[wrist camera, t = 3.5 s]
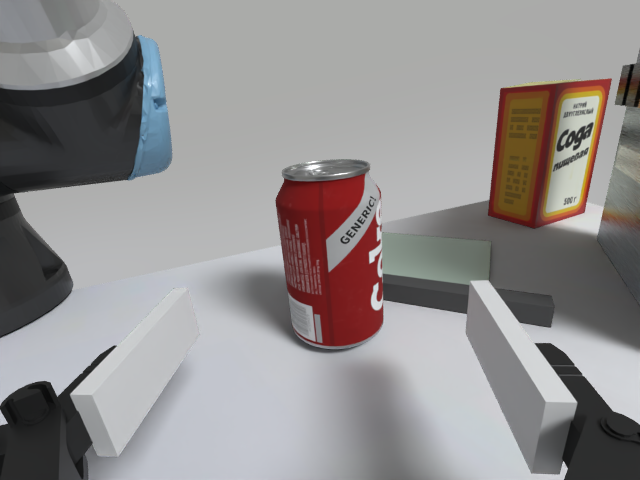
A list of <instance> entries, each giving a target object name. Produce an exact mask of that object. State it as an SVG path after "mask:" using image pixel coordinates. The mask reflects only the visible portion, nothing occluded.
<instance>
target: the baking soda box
mask: <svg viewBox="0 0 640 480" xmlns="http://www.w3.org/2000/svg"><path fill="white" fill-rule="evenodd" d="M611 80H612V79H599V80H586V81H575V80H562V81H545V82H531V83H526V84H521V85H516V86H510V87H505V88H501V90H500V99H499V100H500V101H499V109H498V120H497V129H496V140H495V150H494V161H493V171H492V180H491V190H490V200H489V210H488V216H492V217H496V218H499V219H503V220H506V221H510V222H513V223H517V224H520V225H524V226H527V227H531V228H534V229H535V228H538V227H541V226H544V225H547V224H550V223H553V222H557V221H560V220H563V219H566V218H569V217H572V216H575V215H579V214H582V213H584V212H585V207H586V202H587V197H588V192H589V188H590V183H591V178H592V172H593V168H594V163H595V158H596V154H597V148H598V144H599V139H600V134H601V129H602V124H603V119H604V115H605V110H606V105H607V100H608V95H609V90H610V85H611ZM569 81H572V82H569Z"/></svg>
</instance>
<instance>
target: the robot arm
mask: <svg viewBox="0 0 640 480" xmlns="http://www.w3.org/2000/svg"><path fill="white" fill-rule="evenodd" d="M171 161H172V144H171V135H170V126H169V118H168V110H167V106H166V97H165V86H164V79H163V72H162V65H161V59H160V54H159V49H158V45H157V43H156V42H155V41H154V40H153V39H150V38H145V37H143V36H142V35H140V36H136V37H135V35H134V31H133V28H132V25H131V22H130V20H129V18H128V17H127V15H126V13H125V12H124V10H123V9H122V8H121V7H120V6H118V5H117V4H116V3H115V2H113V1H112V0H0V336H2V335H4V334H7V333H9V332H11V331H13V330H15V329H17V328H19V327H22V326H23V325H25V324H27V323H29V322H31V321H33V320H35V319H36V318H38V317H40V316H42V315H43V314H45V313H46V312H48V311H49V310H51V309H52V308H54V307H55V306H56V305H58V304H59V303H60V302H61V301H63V300H64V299H65V298H66V297H67V296H68V294H69V293H70V292H71V290H72V287H73V281H72V279H71V276H70V274H69V271H68V269H67V266H66V265H65V263H64V262H63V261H62V259H60V257H59V256H58V255H57V254H56V253H55V252H54V251H53V250H52V249H51V248H50V246H49V245H48V244H47V243H46V242H45V241H44V240H43V239H42V238H41V237H40V236H39V234H38V233H37V232H36V231H35V230H34V229H33V228H32V227H31V226H30V225H29V223H28V222H27V221H26V220H25V218H24V217H23V215H22V213H21V210H20V208H19V205H18V203H17V201H16V198H15V196H14V193H19V192H28V191H37V190H45V189H53V188H61V187H70V186H79V185H88V184H96V183H104V182H112V181H121V180H133V179H134V178H135V177H140V176H146V175H151V174H156V173H160V172H162V171H164V170H165V169H167V168H168V167H169V165H170V164H171ZM466 335H467V337H468V339H469V341H470V343H471V345H472V348H473V350H474V352H475V354H476V356H477V358H478V360H479V362H480V365H481V367H482V369H483V371H484V373H485V375H486V377H487V380H488V382H489V384H490V386H491V388H492V390H493V392H494V395H495V397H496V399H497V401H498V403H499V405H500V407H501V410H502V412H503V414H504V416H505V418H506V420H507V422H508V424H509V427H510V429H511V431H512V433H513V435H514V437H515V439H516V442H517V444H518V446H519V448H520V450H521V452H522V454H523V457H524V459H525V461H526V463H527V465H528V467H529V469H530V471H531V473H536V474H560V471H561V467H562V463H563V461H564V462H565V464H566V466H567V468H568V470H567V473H566V476H565V479H564V480H640V425H639V424H638V423H637V422H635V421H634V420H632V419H630V418H628V417H626V416H624V415H622V414H619V413H616V412H613V411H612V410H611V408H610V407H609V406H608V405H607V404H606V402H605V401H604V400H603V399H602V397H601V396H600V395H599V394H598V393H597V391H596V390H595V389H594V388H593V387H592V385H591V384H590V383H589V382H588V380H587V379H586V378H585V377H584V376H582V373H581V372H580V371H579V370H578V368H577V367H575V366H574V363H573V362H572V361H571V360H570V359H569V357H568V356H567V355H566V354H565V353H564V352H563V351H561V350H560V349H558V348H557V347H555V346H554V345H552V344H551V343H534V342H533V341H532V340H531V338H530V337H529V335H528V334H527V333H526V331H525V330H524V329H523V327H522V326H521V324H520V323H519V322H518V320H517V319H516V318H515V316H514V315H513V313H512V312H511V311H510V309H509V308H508V307H507V305H506V304H505V303H504V301H503V300H502V298H501V297H500V296H499V294H498V293H497V292H496V290H495V289H494V287H493V286H492V285H491V283H490V282H489V281H488V280H481V281H470V286H469V298H468V310H467V322H466ZM199 336H200V332H199V328H198V324H197V320H196V316H195V312H194V308H193V304H192V300H191V296H190V292H189V288H173V289H172V290H171V291H170V292H169V293H168V294H167V296H166V297H165V298H164V299H163V300H162V301H161V302H160V303H159V304H158V305H157V306H156V307H155V308H154V309H153V310H152V311H151V312H150V313H149V314H148V315H147V316H146V317H145V318H144V319H143V320H142V321H141V322H140V323H139V324H138V325H137V326H136V327H135V328H134V329H133V330H132V331H131V332H130V333H129V334H128V335H127V336H126V337H125V338H124V339H123V341H122V342H121V343H120V344H119V345H118V346H113V347H111V348H109V349H108V350H106V351H105V352H103V353H102V354H100V355H99V356H98V357H97V358H96V359H95V360H94V361H93V362H92V363H91V366H88V367H87V368H86V369H85V370H84V371H83V374H80V375H79V376H78V377H77V378H76V379H75V380H74V381H73V382H72V383H71V384H70V385H69V386H68V387H67V388H66V389H65V390H64V391H63V392H62V393H61V394H60V395H59V396H58V397H57V395H56V393H55V391H54V389H53V387H52V385H51V383H50V382H47V381H40V382H35V383H32V384H28V385H26V386H24V387H22V388H20V389H18V390H17V391H15V392H14V393H12V394H11V395H9V396H8V397H7V398H6V399H5V400H4V401H3V402H2V404H1V406H0V410H1V412H2V414H3V415H4V417H5V419H6V421H7V422H8V424H5V425H1V426H0V480H88V463H87V459H86V457H85V455H84V454H85V452H86V451H87V450H88V448H89V447H90V446H91V444H92V445H93V447H94V449H95V451H96V454H97V456H105V457H119V455H120V454H121V452H122V451H123V449H124V448H125V446H126V445H127V443H128V442H129V440H130V439H131V437H132V436H133V434H134V433H135V431H136V430H137V428H138V427H139V425H140V424H141V422H142V421H143V419H144V418H145V416H146V415H147V413H148V412H149V410H150V409H151V407H152V406H153V405H154V403H155V402H156V400H157V399H158V397H159V396H160V394H161V393H162V391H163V390H164V388H165V387H166V385H167V384H168V382H169V381H170V379H171V378H172V376H173V375H174V373H175V372H176V370H177V369H178V367H179V366H180V364H181V363H182V361H183V360H184V358H185V357H186V355H187V354H188V352H189V351H190V349H191V348H192V346H193V345H194V343H195V342H196V340H197V339H198V337H199Z"/></svg>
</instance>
